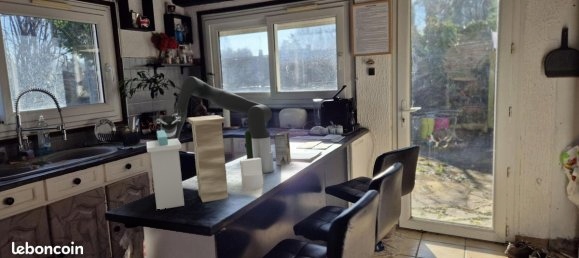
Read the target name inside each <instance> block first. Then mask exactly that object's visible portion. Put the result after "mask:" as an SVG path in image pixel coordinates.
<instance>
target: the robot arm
mask: <svg viewBox="0 0 579 258" xmlns="http://www.w3.org/2000/svg"><path fill="white" fill-rule="evenodd" d="M192 96H194V97H198V98H201V99H205V100H207V101H209V102H211V103H212V104H214V105H215V106H217V107H219V108H221V109H224V110H226V111H229V112H232V113H233V112H234V113H240V114H244V115H247V118H248V124H249V127H248V129H249V131H250V134H251V137H252V149H253V158H261V165H262V174H265V173H266V174H267V173H271V172H274V171H275V166H274V156H273V155H274V153H273V151H272V143H271V132H270V130H268V129H267V128H266V123H267V122H269V121H270V120H271V118H272V116H273V115H272V114H273V112H272V110H271V108H270V107H268V106H267V105H265V104H263V103H259V102H256V101H253V100H249V99H247V98H245V97H244V96H240V95H238V94H236V93H234V92H231V91H229V90H226V89H223V88H219V87H214V86H211V85H210V84H208V83H206V82H204V81H203V80H201V79H199V78H198V77H195V76H191V75H190V76H187V77H186V78H185V79H184V80H183V82H182V84H181V88H180V91H179V96H178V99H177V103H176V105H175V108H174V111H173V113H172V115H163V114H161V111H160V110H158V111H156V115H155V114H154V115H152V121H153V125H154V126H157V124H160V130H164V131H165V133H166V135H167V139H178V140H179V141H180V135H181V130H182V128H183V126H184V124H185V121H186V119H187V115H188V105H189V101H190V98H191V97H192Z"/></svg>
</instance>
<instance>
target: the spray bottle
mask: <svg viewBox="0 0 579 258" xmlns="http://www.w3.org/2000/svg"><path fill="white" fill-rule="evenodd" d="M246 125H247V127H248V129H246V130H245V131H244V137H245V139H244V140H245V149H246V151H245V152H246V159H252V158H253V149H252V137H251V134H250V131H249V124H248V117H247V119H246Z"/></svg>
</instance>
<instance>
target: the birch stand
mask: <svg viewBox="0 0 579 258" xmlns="http://www.w3.org/2000/svg"><path fill="white" fill-rule="evenodd" d="M187 121H188V123H189V124H191V129H192V138H193V139H192V140H193V149H194V159H195V160H194V161H195V169H196V170H195V171H196V180H197V190H198V196H199V198H200V199H201V202H202V203H206V202H207V203H208V202H212V201H219V200H225V199H229V192H228V191H229V190H228V179H227V172H226V171H227V170H226V169H227V168H226V158H225V147H224V146H225V145H224V135H223V125H222V124H223V123H226V117H224V116H223V117H222V116H221V115H217V114H216V115H213V114H212V115H205V116H195V117H193V116H192V117H187Z"/></svg>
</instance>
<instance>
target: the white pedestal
mask: <svg viewBox="0 0 579 258" xmlns="http://www.w3.org/2000/svg"><path fill="white" fill-rule="evenodd" d="M182 148H183V147H182V143H181V142H180V139H179V140H178V139H168V145H161V146H160V145H159V142H158V140H151V141H146V151H147V153H149V154H150V162H151V170H152V171H151V172H152V178H153V186H154V187H153V188H154V189H153V190H154V197H155V204H156V210H157V209H160V210H164V209H165V208H166V209H171V208H178V207H182V206H185V199H184V190H183V180H182V171H181V159H180V153H179V150H180V149H182Z"/></svg>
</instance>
